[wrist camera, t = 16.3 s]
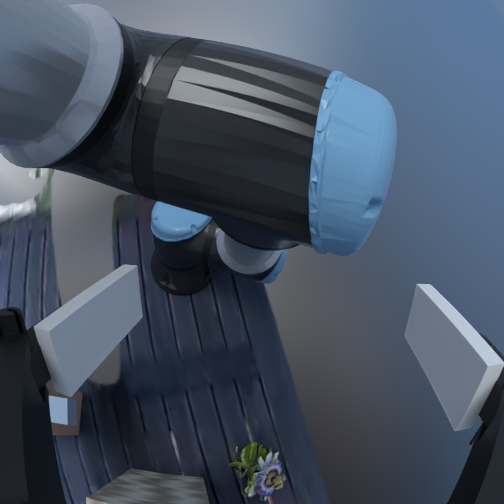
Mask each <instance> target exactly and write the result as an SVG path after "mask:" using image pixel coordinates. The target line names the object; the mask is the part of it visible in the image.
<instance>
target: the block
mask: <svg viewBox="0 0 504 504" xmlns="http://www.w3.org/2000/svg"><path fill="white" fill-rule="evenodd" d="M46 387H47V389H48V392H49V396H55V397H61V398H68V399H71V400H75V401H77V426H76V425H65V424H59V423H53V422H51V425H52V433H53V435H79V427H80V415H81V405H82V396H83V392H81V391H78V390H77V391H76V392H75V393H74V394H73V396H72V397H69V396H66V395H64V394H61V393H59V392H56V391H55V388H54V386H53V383H52V381H51V380H49V381H48V382H47V383H46Z"/></svg>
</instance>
